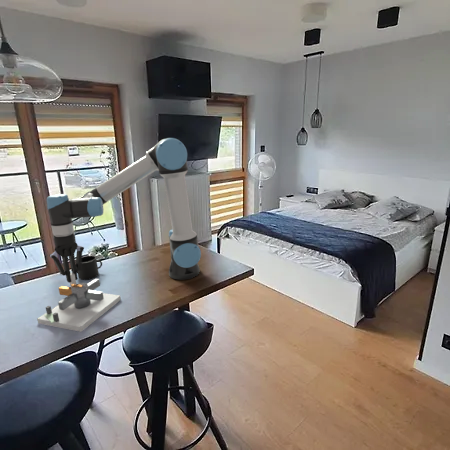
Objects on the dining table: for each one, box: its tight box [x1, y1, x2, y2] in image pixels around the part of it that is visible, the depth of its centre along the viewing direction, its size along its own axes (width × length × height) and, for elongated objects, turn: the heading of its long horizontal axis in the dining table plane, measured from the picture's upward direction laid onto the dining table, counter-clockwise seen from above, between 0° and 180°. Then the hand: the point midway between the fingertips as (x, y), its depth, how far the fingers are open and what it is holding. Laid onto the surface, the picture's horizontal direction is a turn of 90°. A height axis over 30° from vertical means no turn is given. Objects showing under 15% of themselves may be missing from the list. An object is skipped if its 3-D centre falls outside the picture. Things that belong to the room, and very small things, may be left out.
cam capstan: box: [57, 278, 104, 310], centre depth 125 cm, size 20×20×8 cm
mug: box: [75, 255, 103, 281], centre depth 157 cm, size 9×12×9 cm
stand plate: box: [36, 292, 122, 333], centre depth 124 cm, size 20×24×5 cm
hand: (73, 288), depth 130 cm, fingers closed
